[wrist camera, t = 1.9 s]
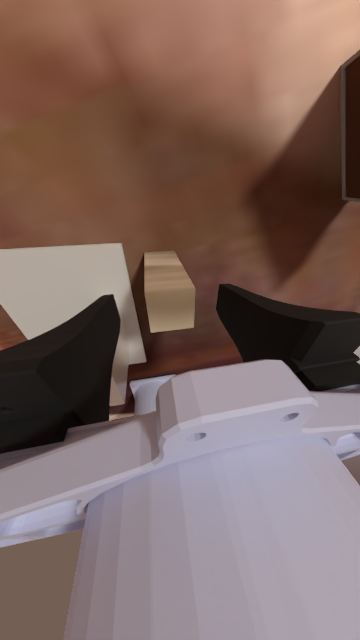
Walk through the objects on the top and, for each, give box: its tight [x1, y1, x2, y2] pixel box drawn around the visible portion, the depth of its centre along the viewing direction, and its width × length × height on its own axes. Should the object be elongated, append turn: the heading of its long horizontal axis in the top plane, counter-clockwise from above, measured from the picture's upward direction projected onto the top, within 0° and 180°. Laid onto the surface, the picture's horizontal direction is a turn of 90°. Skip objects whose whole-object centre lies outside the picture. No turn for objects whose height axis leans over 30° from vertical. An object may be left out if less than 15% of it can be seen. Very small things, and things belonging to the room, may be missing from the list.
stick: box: [144, 251, 195, 333], centre depth 14 cm, size 3×3×9 cm
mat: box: [0, 243, 146, 365], centre depth 20 cm, size 17×13×1 cm
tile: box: [109, 298, 130, 406], centre depth 18 cm, size 8×2×8 cm, turn 1°
